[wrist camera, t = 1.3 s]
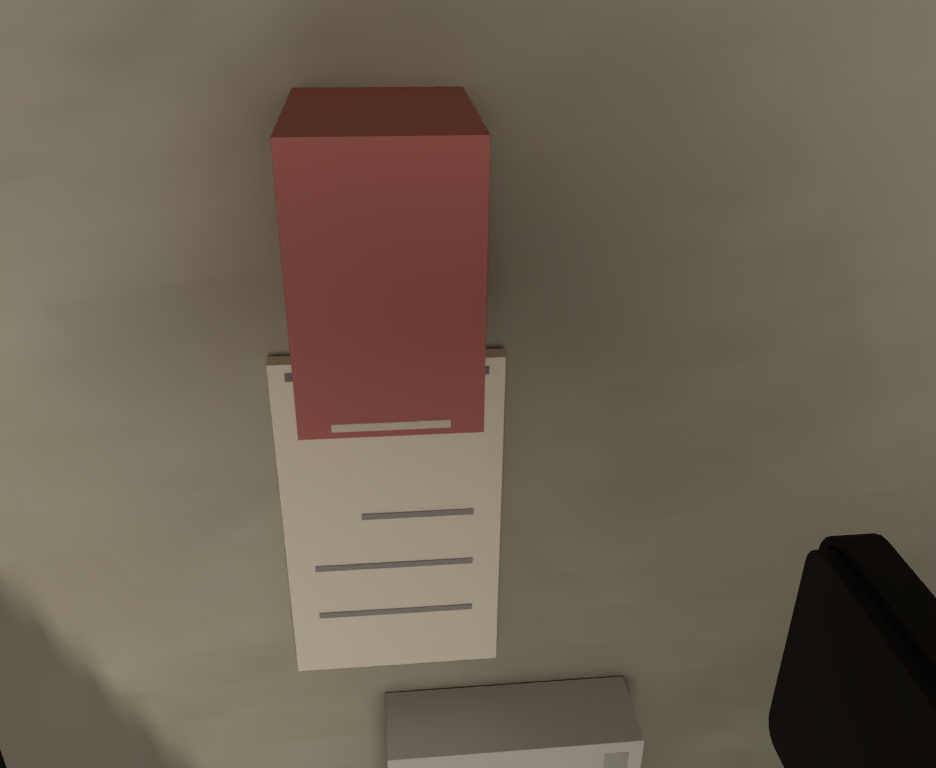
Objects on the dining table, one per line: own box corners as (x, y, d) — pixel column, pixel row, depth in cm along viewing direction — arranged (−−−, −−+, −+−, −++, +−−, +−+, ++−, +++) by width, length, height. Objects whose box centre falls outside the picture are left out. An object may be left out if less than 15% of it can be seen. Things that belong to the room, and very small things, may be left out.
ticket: (503, 348, 27) (506, 357, 26) (493, 645, 32) (495, 659, 32) (268, 356, 26) (265, 366, 26) (299, 658, 32) (298, 672, 31)
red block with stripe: (461, 86, 23) (490, 135, 18) (460, 330, 27) (483, 433, 21) (292, 87, 23) (269, 138, 18) (311, 334, 26) (297, 441, 21)
